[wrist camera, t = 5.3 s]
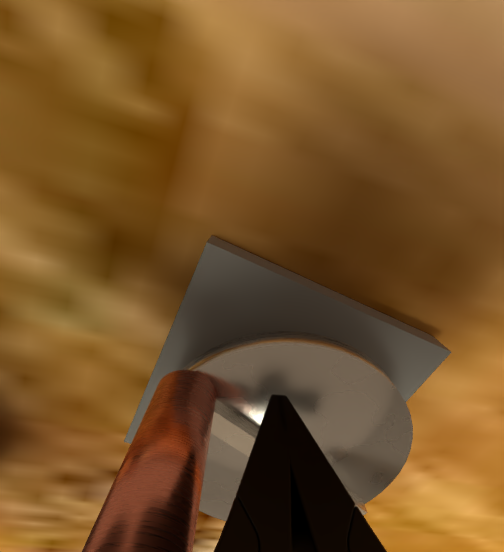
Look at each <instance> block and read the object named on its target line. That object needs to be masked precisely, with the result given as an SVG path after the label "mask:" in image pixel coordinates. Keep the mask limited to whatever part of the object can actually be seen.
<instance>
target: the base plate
mask: <svg viewBox="0 0 504 552" xmlns="http://www.w3.org/2000/svg"><path fill="white" fill-rule="evenodd" d="M277 331H291V332H304V333H311V334H318V335H322V336H325V337H329V338H333V339H336V340H338V341H341V342H343V343H346V344H348V345H350V346H352V347H354V348H356V349H357V350H359V351H361V352H363V353H364V354H366V355H367V356H368V357H369V358H371V359H372V360H373V361H374V362H376V363H377V364H378V365H379V367H380V368H381V369H382V370H383V371H384V372H385V373H386V374H387V376H388V377H389V379H390V380H391V381H392V383H393V384H394V386H395V387H396V388H397V390H398V391H399V393H400V394H401V396H402V398H403V399H404V401H405V402H406V401H407V400H408V399H409V398H410V397H411V396H412V395H413V394H414V393H415V391H416V390H417V389H418V388H419V387H420V386H421V385H422V384H423V383H424V382H425V381H426V379H427V378H428V377H429V376H430V375H431V374H432V373H433V372H434V371H435V370H436V368H437V367H438V366H439V365H440V364H441V363H442V362H443V361H444V360H445V359H446V358H447V356H448V355H449V354H450V353H451V351H450V350H448V349H447V348H446V347H445V346H444V345H442V344H441V343H440V342H439V341H438V340H436V339H435V338H434V337H433V336H431V335H429V334H427V333H425V332H423V331H420V330H418V329H416V328H414V327H412V326H410V325H407V324H405V323H403V322H401V321H399V320H396V319H394V318H392V317H390V316H388V315H385V314H383V313H381V312H379V311H377V310H374V309H372V308H370V307H368V306H366V305H364V304H361V303H359V302H357V301H355V300H353V299H350V298H348V297H346V296H344V295H342V294H339V293H337V292H335V291H333V290H331V289H328V288H326V287H324V286H322V285H320V284H318V283H315V282H313V281H311V280H309V279H307V278H304V277H302V276H300V275H298V274H296V273H293V272H291V271H289V270H287V269H285V268H282V267H280V266H278V265H276V264H274V263H272V262H269V261H267V260H265V259H263V258H261V257H258V256H256V255H254V254H252V253H250V252H247V251H245V250H243V249H241V248H239V247H236V246H234V245H232V244H230V243H228V242H226V241H223V240H221V239H219V238H217V237H215V236H211V237H210V238H209V240H208V241H207V243H206V245H205V248H204V250H203V253H202V255H201V257H200V260H199V262H198V265H197V267H196V269H195V272H194V274H193V277H192V279H191V281H190V284H189V286H188V289H187V291H186V293H185V296H184V298H183V301H182V303H181V305H180V308H179V310H178V313H177V315H176V317H175V320H174V322H173V325H172V327H171V329H170V332H169V334H168V337H167V339H166V342H165V344H164V346H163V349H162V351H161V354H160V356H159V358H158V361H157V363H156V366H155V368H154V370H153V373H152V375H151V378H150V380H149V382H148V385H147V387H146V390H145V392H144V394H143V397H142V399H141V402H140V404H139V406H138V409H137V411H136V414H135V416H134V418H133V421H132V423H131V426H130V428H129V431H128V433H127V435H126V438H125V440H124V442H127V443H130V444H131V443H132V441H133V439H134V436H135V434H136V432H137V430H138V428H139V425H140V423H141V421H142V419H143V417H144V414H145V412H146V410H147V408H148V406H149V403H150V401H151V399H152V397H153V395H154V392H155V390H156V388H157V386H158V384H159V382H160V380H161V379H162V378H163V377H164V376H165V375H167V374H168V373H171V372H173V371H177V370H182V369H183V368H184V367H185V366H187V365H188V364H189V363H190V362H192V361H193V360H194V359H195V358H197V357H198V356H200V355H201V354H203V353H205V352H206V351H208V350H210V349H211V348H214V347H216V346H218V345H220V344H222V343H225V342H227V341H230V340H233V339H237V338H240V337H243V336H248V335H253V334H258V333H265V332H277Z"/></svg>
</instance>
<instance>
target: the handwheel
mask: <svg viewBox="0 0 504 552" xmlns="http://www.w3.org/2000/svg"><path fill="white" fill-rule="evenodd" d="M272 394H280V395H286V396H287V397H288V398H289V400H290V402H291V403H292V405H293V406H294V408H295V409H296V411H297V413H298V414H299V416H300V417H301V419H302V420H303V422H304V424H305V425H306V427H307V428H308V430H309V431H310V433H311V435H312V436H313V438H314V439H315V441H316V442H317V444H318V446H319V447H320V449H321V450H322V452H323V453H324V455H325V457H326V458H327V460H328V461H329V463H330V464H331V466H332V468H333V469H334V471H335V472H336V474H337V475H338V477H339V479H340V480H341V482H342V483H343V485H344V486H345V488H346V490H347V491H348V493H349V494H350V496H351V497H352V499H353V501H354V502H355V506H357V507H358V508H359V510H360V511H361V513H362V515H364V514H366V513H367V510H366V508H365V505H364V504H365V503H367V502H369V501H370V500H372V499H373V498H374V497H376V496H377V495H378V494H380V493H381V492H382V491H383V490H384V489H385V488H386V487H387V486H388V485H389V484H390V483H391V482H392V481H393V480H394V479H395V477H396V476H397V475H398V474H399V472H400V471H401V469H402V467H403V466H404V464H405V462H406V460H407V457H408V455H409V452H410V449H411V444H412V439H413V426H412V420H411V415H410V412H409V410H408V407H407V405H406V402H405V401H404V399H403V398H402V396H401V394H400V393H399V391H398V390H397V388H396V387H395V386H394V384H393V383H392V381H391V380H390V379H389V377H388V376H387V374H386V373H385V372H384V371H383V370H382V369H381V368H380V367H379V365H378V364H377V363H376V362H374V361H373V360H372V359H371V358H369V357H368V356H367V355H366V354H364V353H363V352H361V351H359V350H357V349H356V348H354V347H352V346H350V345H348V344H346V343H343V342H341V341H338V340H336V339H333V338H329V337H325V336H322V335H318V334H311V333H304V332H291V331H277V332H265V333H258V334H253V335H248V336H243V337H240V338H237V339H233V340H230V341H227V342H225V343H222V344H220V345H218V346H216V347H214V348H211V349H210V350H208V351H206V352H205V353H203V354H201V355H200V356H198V357H197V358H195V359H194V360H193V361H192V362H190V363H189V364H188V365H187V366H185V367H184V368H183V369H182V370H177V371H173V372H171V373H168V374H167V375H165V376H164V377H163V378H162V379H161V380H160V382H159V384H158V386H157V388H156V390H155V392H154V395H153V397H152V399H151V401H150V403H149V406H148V408H147V410H146V412H145V414H144V417H143V419H142V421H141V423H140V425H139V428H138V430H137V432H136V434H135V436H134V439H133V441H132V443H131V445H130V447H129V450H128V452H127V454H126V456H125V458H124V461H123V463H122V465H121V467H120V469H119V471H118V474H117V476H116V478H115V480H114V482H113V485H112V487H111V489H110V491H109V493H108V496H107V498H106V500H105V502H104V504H103V507H102V509H101V511H100V513H99V515H98V518H97V520H96V522H95V524H94V526H93V529H92V531H91V533H90V535H89V537H88V539H87V542H86V544H85V546H84V548H83V550H82V552H192V549H193V543H194V537H195V530H196V524H197V518H198V511H201V512H203V513H206V514H208V515H210V516H212V517H215V518H218V519H221V520H224V521H226V520H227V518H228V515H229V513H230V510H231V507H232V504H233V501H234V498H235V497H236V493H237V490H238V487H239V485H240V482H241V479H242V476H243V473H244V470H245V468H246V465H247V462H248V459H249V456H250V453H251V450H252V448H253V445H254V442H255V439H256V436H257V433H258V431H259V428H260V425H261V422H262V419H263V416H264V414H265V411H266V408H267V405H268V402H269V399H270V397H271V395H272Z"/></svg>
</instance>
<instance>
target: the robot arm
mask: <svg viewBox="0 0 504 552" xmlns="http://www.w3.org/2000/svg"><path fill="white" fill-rule="evenodd" d="M214 552H387V551H386V550H385V548H384V547H383V545H382V544H381V542H380V541H379V539H378V538H377V536H376V535H375V533H374V532H373V530H372V529H371V527H370V526H369V524H368V523H367V521H366V519H365V518H364V516H363V515H362V513H361V511H360V510H359V508H358V507H357V506H355V502H354V501H353V499H352V497H351V496H350V494H349V493H348V491H347V490H346V488H345V486H344V485H343V483H342V482H341V480H340V479H339V477H338V475H337V474H336V472H335V471H334V469H333V468H332V466H331V464H330V463H329V461H328V460H327V458H326V457H325V455H324V453H323V452H322V450H321V449H320V447H319V446H318V444H317V442H316V441H315V439H314V438H313V436H312V435H311V433H310V431H309V430H308V428H307V427H306V425H305V424H304V422H303V420H302V419H301V417H300V416H299V414H298V413H297V411H296V409H295V408H294V406H293V405H292V403H291V402H290V400H289V398H288V397H287V396H286V395H280V394H272V395H271V397H270V399H269V402H268V405H267V408H266V411H265V414H264V416H263V419H262V422H261V425H260V428H259V431H258V433H257V436H256V439H255V442H254V445H253V448H252V450H251V453H250V456H249V459H248V462H247V465H246V468H245V470H244V473H243V476H242V479H241V482H240V485H239V487H238V490H237V493H236V497H235V498H234V501H233V504H232V507H231V510H230V513H229V515H228V518H227V520H226V523H225V526H224V528H223V531H222V533H221V536H220V539H219V541H218V543H217V545H216V548H215V550H214Z"/></svg>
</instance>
